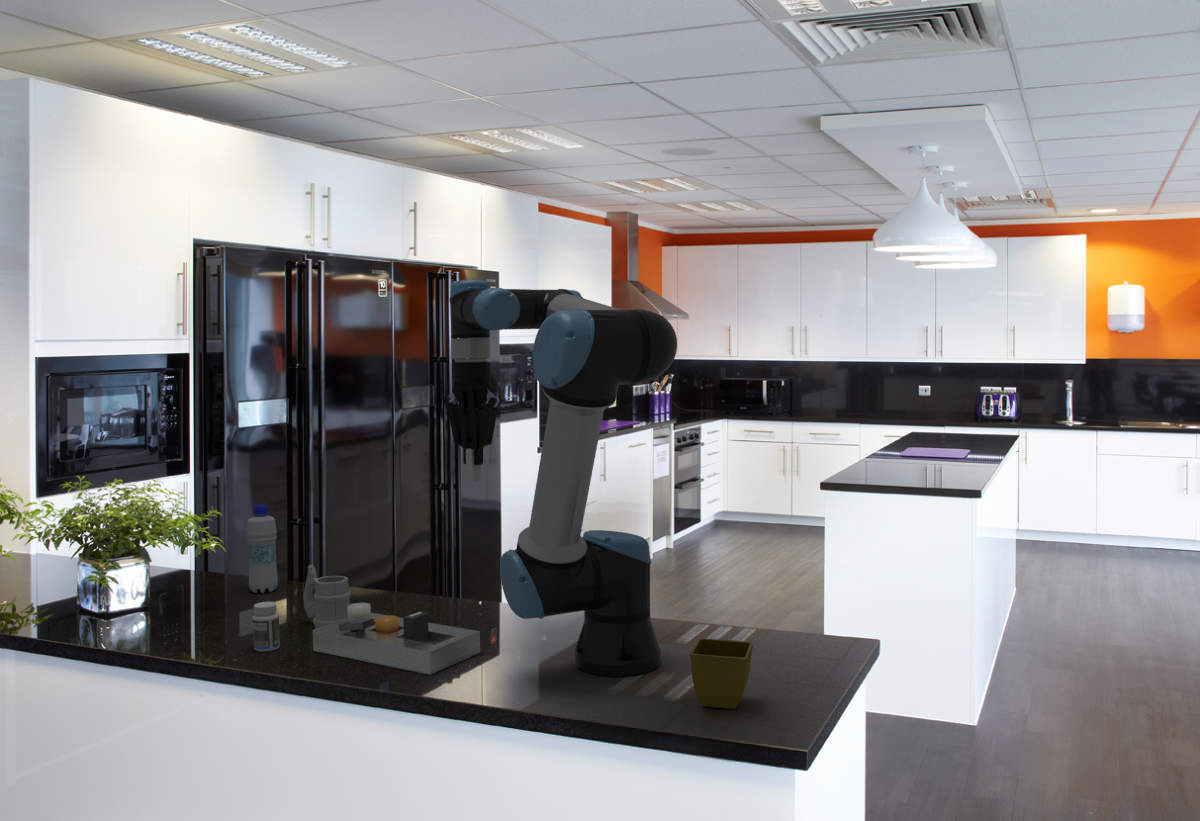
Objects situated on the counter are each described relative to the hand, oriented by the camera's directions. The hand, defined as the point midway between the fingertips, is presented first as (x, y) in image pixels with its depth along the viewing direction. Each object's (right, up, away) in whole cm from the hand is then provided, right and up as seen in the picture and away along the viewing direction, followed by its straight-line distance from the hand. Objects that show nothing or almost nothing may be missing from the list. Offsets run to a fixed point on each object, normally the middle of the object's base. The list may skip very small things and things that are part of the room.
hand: (473, 481), depth 204 cm
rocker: (-20, -25, -14) cm, 35 cm away
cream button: (-21, -26, -8) cm, 34 cm away
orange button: (-15, -28, -11) cm, 33 cm away
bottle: (-52, -28, +35) cm, 69 cm away
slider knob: (-9, -28, -15) cm, 33 cm away
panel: (-13, -31, -12) cm, 35 cm away
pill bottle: (-38, -31, -9) cm, 49 cm away
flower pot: (+44, -32, -41) cm, 68 cm away
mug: (-30, -30, +5) cm, 43 cm away
